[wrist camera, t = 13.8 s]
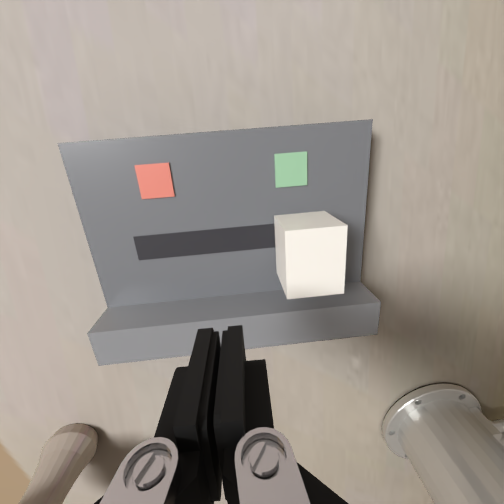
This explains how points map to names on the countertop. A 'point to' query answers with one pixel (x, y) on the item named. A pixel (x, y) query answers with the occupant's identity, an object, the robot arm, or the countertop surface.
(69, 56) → the countertop surface
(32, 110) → the countertop surface
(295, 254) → the knob
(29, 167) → the countertop surface
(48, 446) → the decorative mushroom
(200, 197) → the panel
